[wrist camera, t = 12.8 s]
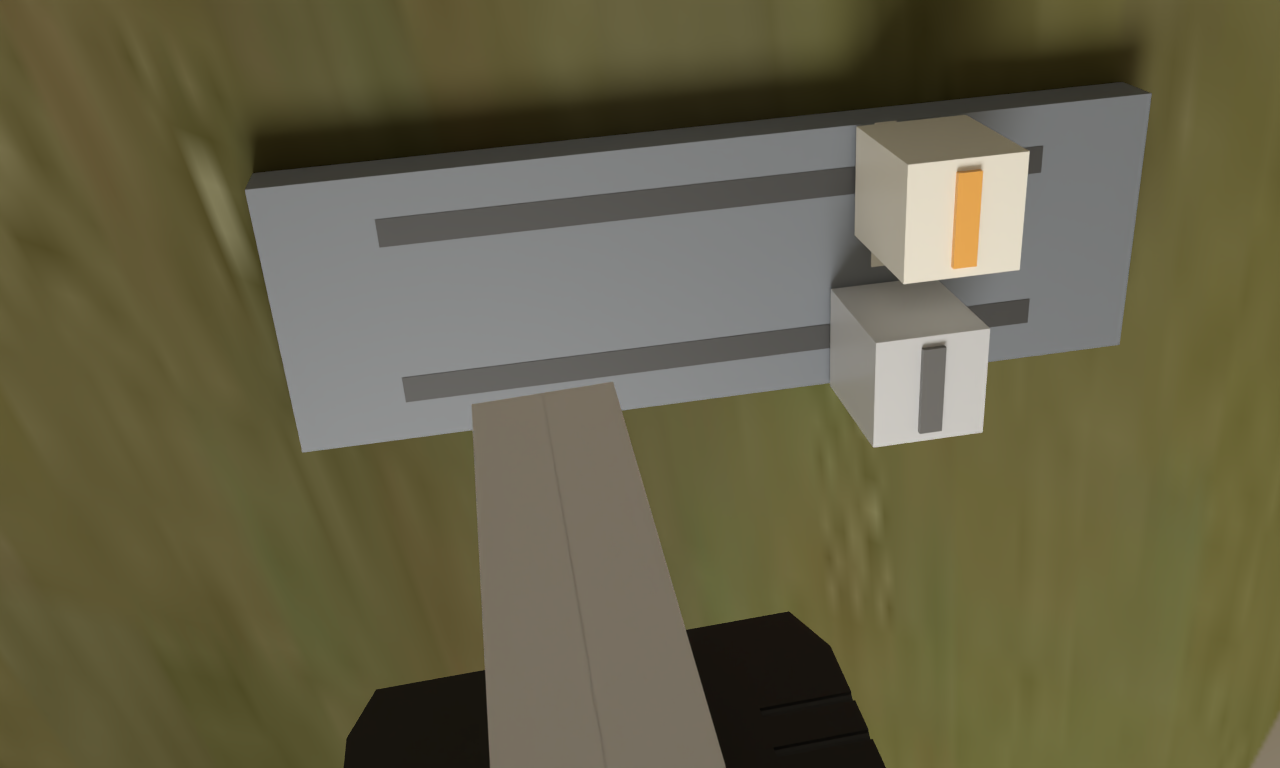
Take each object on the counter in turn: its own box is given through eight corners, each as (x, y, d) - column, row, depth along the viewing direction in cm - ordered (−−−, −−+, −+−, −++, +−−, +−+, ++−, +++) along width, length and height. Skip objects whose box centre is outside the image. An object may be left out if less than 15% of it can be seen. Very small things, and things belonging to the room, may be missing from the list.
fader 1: (856, 126, 41) (910, 166, 37) (965, 114, 42) (1032, 153, 37) (854, 235, 43) (905, 286, 39) (959, 222, 44) (1022, 272, 39)
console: (252, 173, 41) (244, 190, 39) (1122, 81, 45) (1152, 93, 43) (307, 427, 45) (302, 452, 44) (1094, 325, 49) (1119, 344, 47)
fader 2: (830, 289, 44) (878, 345, 39) (934, 276, 44) (992, 330, 40) (829, 385, 46) (875, 450, 41) (929, 372, 46) (984, 435, 42)
